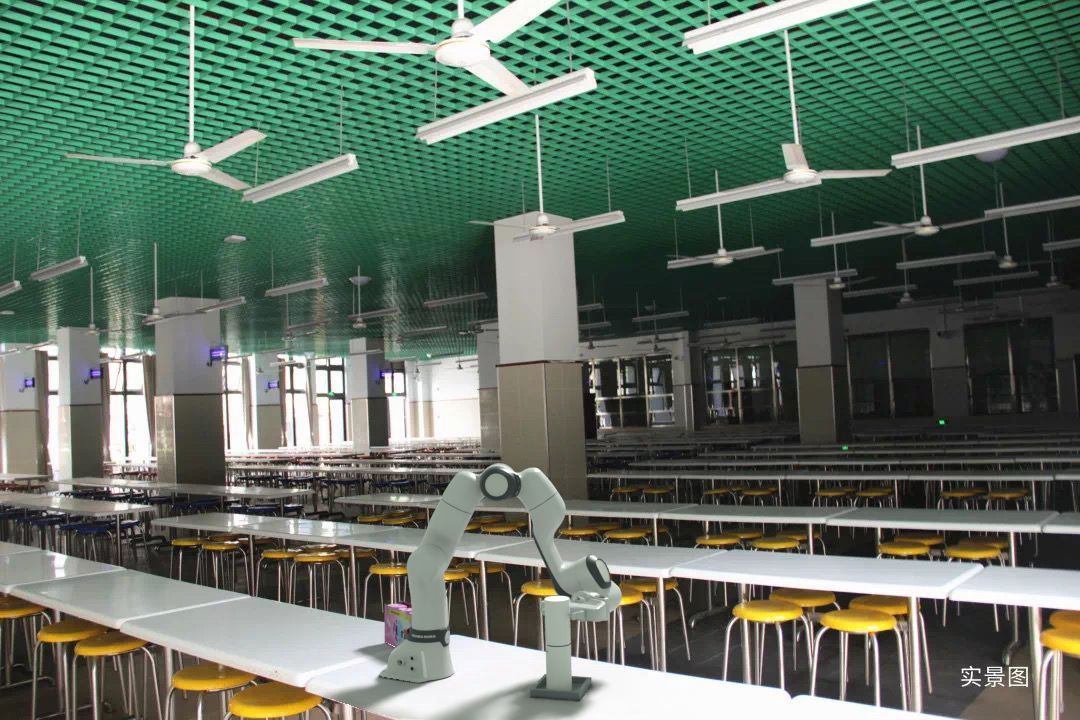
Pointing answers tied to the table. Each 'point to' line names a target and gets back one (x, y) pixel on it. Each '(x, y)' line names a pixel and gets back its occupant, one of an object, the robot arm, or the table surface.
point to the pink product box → (397, 622)
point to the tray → (576, 694)
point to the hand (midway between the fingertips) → (557, 614)
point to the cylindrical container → (558, 643)
